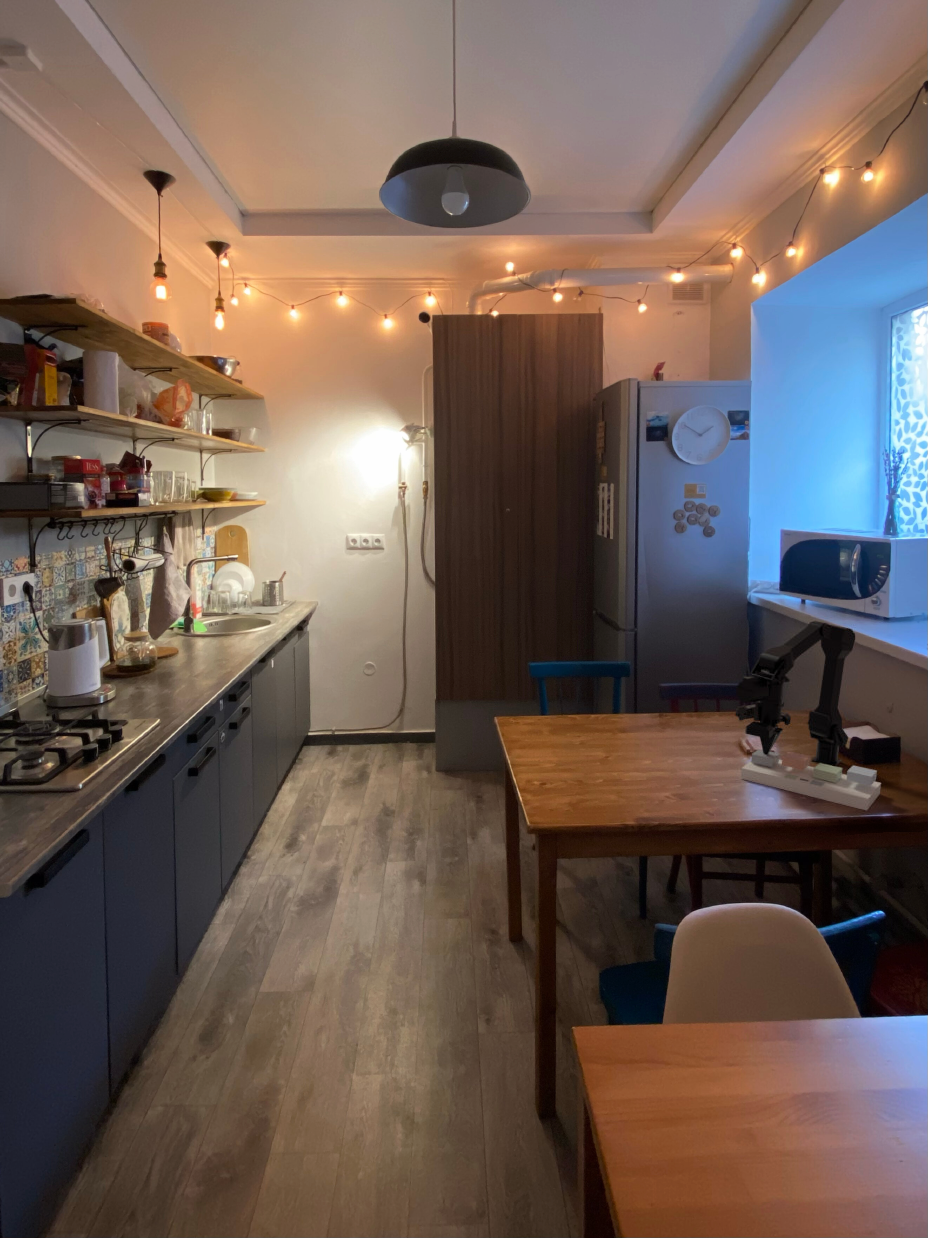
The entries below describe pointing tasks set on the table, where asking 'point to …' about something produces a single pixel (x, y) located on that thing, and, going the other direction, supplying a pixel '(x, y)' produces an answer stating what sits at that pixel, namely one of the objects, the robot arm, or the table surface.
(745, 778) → the keypad base
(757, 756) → the key slate
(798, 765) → the key terracotta
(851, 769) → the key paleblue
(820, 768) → the key sage
